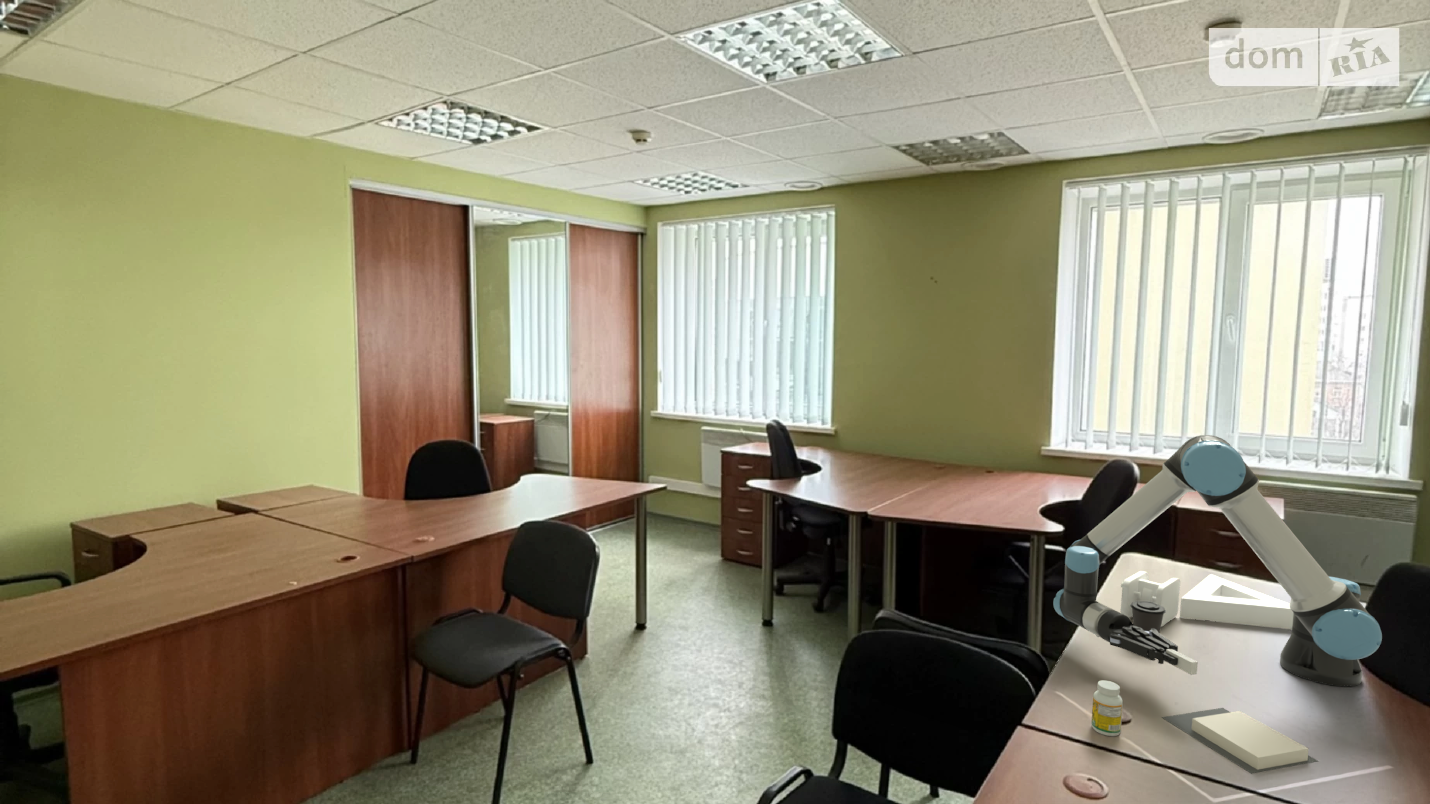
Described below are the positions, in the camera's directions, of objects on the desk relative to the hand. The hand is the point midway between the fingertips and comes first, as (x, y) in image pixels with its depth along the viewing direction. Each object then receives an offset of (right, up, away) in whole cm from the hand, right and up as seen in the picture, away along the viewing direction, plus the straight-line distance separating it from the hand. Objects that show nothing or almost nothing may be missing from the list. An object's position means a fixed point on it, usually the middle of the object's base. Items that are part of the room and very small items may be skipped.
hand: (1194, 668), depth 156 cm
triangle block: (+48, -5, +60) cm, 77 cm away
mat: (+3, -11, -9) cm, 14 cm away
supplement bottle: (-21, -11, -5) cm, 25 cm away
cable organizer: (+21, -5, +52) cm, 57 cm away
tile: (+1, -9, -5) cm, 10 cm away
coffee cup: (+12, -6, +37) cm, 40 cm away
